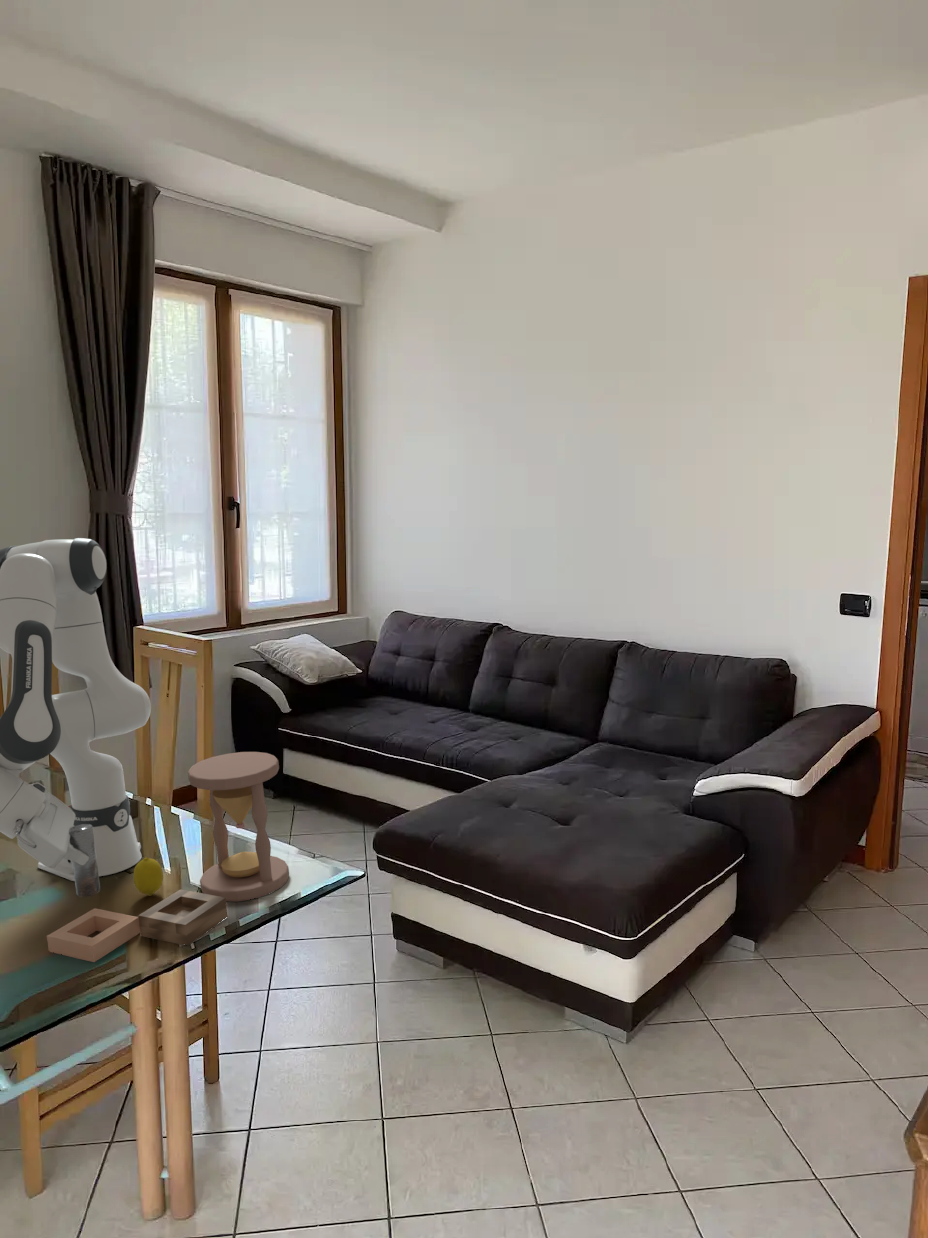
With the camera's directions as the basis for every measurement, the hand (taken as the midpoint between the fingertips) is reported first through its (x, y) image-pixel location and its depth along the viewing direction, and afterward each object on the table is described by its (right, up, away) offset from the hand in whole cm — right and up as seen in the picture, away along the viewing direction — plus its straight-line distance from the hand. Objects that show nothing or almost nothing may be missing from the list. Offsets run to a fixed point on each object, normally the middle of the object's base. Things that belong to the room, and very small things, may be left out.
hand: (87, 854), depth 166 cm
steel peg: (0, -7, +1) cm, 7 cm away
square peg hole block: (+16, -15, +6) cm, 22 cm away
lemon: (+4, -13, +20) cm, 25 cm away
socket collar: (0, -16, +2) cm, 17 cm away
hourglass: (+23, -12, +24) cm, 35 cm away
